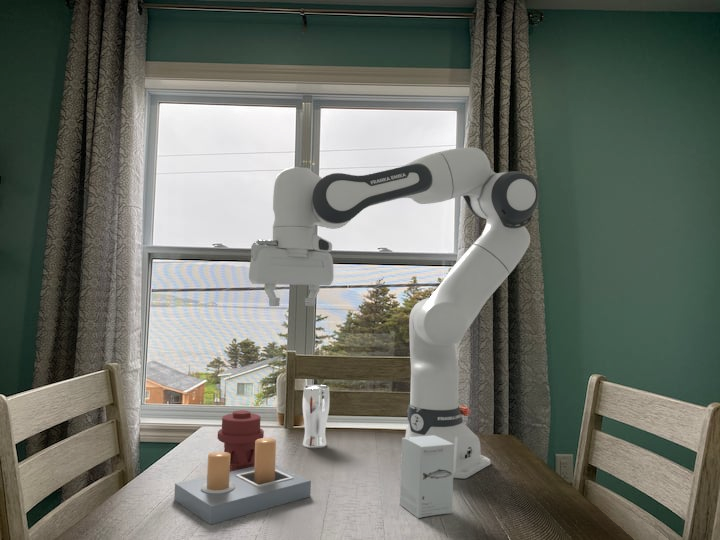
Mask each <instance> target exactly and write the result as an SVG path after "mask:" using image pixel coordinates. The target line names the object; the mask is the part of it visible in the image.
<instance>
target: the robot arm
mask: <svg viewBox="0 0 720 540" xmlns="http://www.w3.org/2000/svg"><path fill="white" fill-rule="evenodd" d="M272 196H273V197H272V209H273V210H272V211H273V213H274V221H273V224H272V240H271V239H268V240H265V239H263V238H262V239H257V240H256V241H254V242H253V244H251V248H250V255H251V256H250V264H249V272H248V279H249V281H250V283H251V284H255V285H264V291H265V293H266V295H267V298H268V299H269V300H268V305H269V307H279V306H280V305H281V303H280V301H281V300H280V299H281V298H280V297H277V296H276V293H275V291H274V290H276V287H277V286H276V285H289V286H290V285H292V286H293V285H295V286H308V290H309V291H310V292H309V294H308V297H304V301H305V303H304V305H305V306H306V307H314V306H315V305H316V298H317V296H318V294H319V292H320V286H330V285H332V283H333V281H334V260H333V256H332V254H331V253H330V252H332V249H333V244H332V242H331V241H329V240H327V239H325V238H323V237H321V236H319V235H318V234H315V232H314V229H315V226H316V227H317V226H318V227H321V228H326V229H331V230H334V229H337V230H338V229H341V228H343V227H345V226H346V225H347V224H348V223H350V222H351V220H353V219H354V218H355V217H356V216H357V215H359V214H360V212H362V211H363V210H365V209H366V208H368V207H371V206H374V205H376V206H377V205H379V204H382V203H386V202H391V201H394V200H397V199H398V200H399V199H405V198H406V199H412V201H414V202H416V203H417V204H420V205H427V204H428V205H429V204H436V203H442V202H445V201H449V200H452V199H456V198H459V197H462V198H463V199H464V201H465V202H466V203H465V204H466V205H467V208H468V209H469V211H470V212H471V213H472V215H474V216H475V217H476V218H478V219H480V220H484V221H486V223H485V226H484V229H483V231H482V232H481V235H480V236H479V237H478V238H477V239H476V240H475V241H474V242H473V243H472V244H471V246H470V247H469V248H468V249H467V250H466V251H465V252H464V254H462V256H461V257H460V258H458V260H457V261H456V262H455V263H454V265H453V266H452V267H451V268H450V269H449V271H448V272H447V274H446V276H445V277H444V278H443V280H442V282H441V283H440V284H438V285H439V286H438V287H437V288H436V289H435V290H434V292H433V293H432V294H431V296H430V297H428V298H424V299H421V300H420V301H418V302H417V303H416V304H415V305H414V306H413V307H412V308H411V310H410V313H409V319H408V321H409V323H408V325H409V327H408V329H409V330H408V331H409V333H408V335H409V357H410V358H409V359H410V391H409V393H410V395H409V397H410V398H409V399H410V401H409V404H408V405H407V406H408V407H407V421H408V424H407V426H406V429H405V436H404V437H418V436H432V435H435V436H437V437H440V438H442V439H444V440H446V441H449V442H451V443H453V444H454V471H453V479H467V478H469V477H471V476H473V475H475V474H476V473H477V472H479V471H482V470H483V469H485V468H486V467H488V466H490V465H491V464H492V463H491V462H492V461H491V459H490V458H489V457H487V456H485V455H482V452H481V441H480V439H479V436H478V435H476V433H474V432H473V431H472V430H471V429H470V428H469V427H468V426H467V425H466V424H465V423H464V419H463V416H464V417H468V416H469V414H470V412H471V411H470V407H467V406H462V405H461V406H459V387H460V386H459V385H460V384H459V383H460V371H459V367H458V360H457V351H456V349H457V347H456V345H457V343H459V342H460V341H461V340H462V339H463V338H464V336H465V334H466V332H467V331H468V329H469V328H470V327H471V326H472V324H473V323H474V321H475V319H476V318H477V316H478V315H479V313H480V312H481V310H482V308H483V307H484V305H485V304H486V303H487V301H488V300H489V299H490V297H491V296H492V295H493V294H494V293H495V292H496V290H497V289H498V288H499V287H500V286H501V285H502V284H503V283H504V281H505V280H506V279H507V278H508V276H509V275H511V273H512V272H513V271H514V270H515V269H516V266H517V265H518V264H519V263H520V262H521V260H522V258H523V257H524V255H525V253H526V252H527V250H528V248H529V246H530V244H531V234H530V233H529V231H528V229H527V228H526V226H527V225H528V224H529V223H531V221H532V218H533V213H534V211H536V209H537V207H538V203H539V199H540V189H539V185H538V183H537V181H536V180H535V179H534V178H533V177H532V176H531V175H529V174H528V173H525V172H521V171H516V170H513V171H508V172H507V171H506V172H504V171H503V172H498V173H497V172H495V171H494V170H493V169H492V168H491V164H490V160H489V158H488V155H487V153H485V152H484V151H483V150H482V149H481V148H478V147H470V146H469V147H457V148H451V149H445V150H442V151H441V150H440V151H438V152H434V153H430V154H427V155H424V156H421V157H419V158H417V159H414V160H413V161H411V162H409V163H407V164H404V165H401V166H399V167H396V168H390V169H387V170H382V171H377V172H373V173H369V174H363V175H354V174H349V173H342V172H341V173H340V172H335V173H329V174H328V175H325V176H323V177H321V176H320V175H318V174H316V173H315V172H313V171H312V170H311V168H309V167H307V166H306V167H305V166H292V167H289V168H285V169H284V170H283V169H282V170H281V171H280V172H279V173H278V174H277V176H276V178H275V180H274V185H273V195H272Z"/></svg>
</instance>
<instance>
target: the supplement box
mask: <svg viewBox="0 0 720 540" xmlns="http://www.w3.org/2000/svg"><path fill="white" fill-rule="evenodd" d="M400 453H401V455H400V484H399V485H400V486H399V487H400V488H399V490H400V491H399V505H401V507H402V508H404V509H405V510H407V511H408V512H409V513H411V514H412V515H414V517H416V518H418V519H420V518H425V517H431V516H440V515H446V514H447V515H449V514H452V513H453V502H454V501H453V500H454V499H453V496H454V495H453V493H454V478H453V471H454V444H453V443H451V442H449V441H446V440H444V439H442V438H440V437H437V436H435V435H432V436H418V437H405V436H404V437H402V438H401V452H400Z"/></svg>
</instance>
